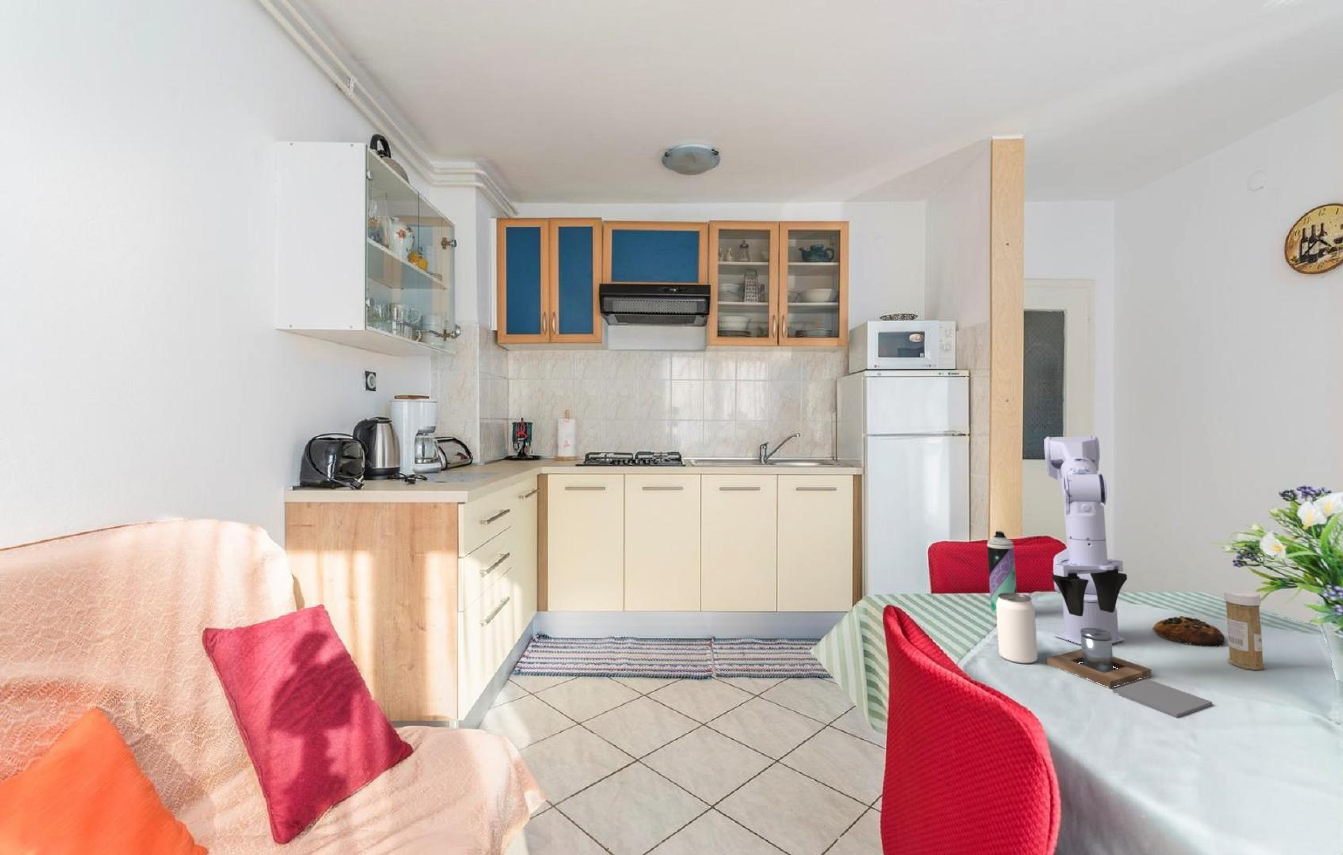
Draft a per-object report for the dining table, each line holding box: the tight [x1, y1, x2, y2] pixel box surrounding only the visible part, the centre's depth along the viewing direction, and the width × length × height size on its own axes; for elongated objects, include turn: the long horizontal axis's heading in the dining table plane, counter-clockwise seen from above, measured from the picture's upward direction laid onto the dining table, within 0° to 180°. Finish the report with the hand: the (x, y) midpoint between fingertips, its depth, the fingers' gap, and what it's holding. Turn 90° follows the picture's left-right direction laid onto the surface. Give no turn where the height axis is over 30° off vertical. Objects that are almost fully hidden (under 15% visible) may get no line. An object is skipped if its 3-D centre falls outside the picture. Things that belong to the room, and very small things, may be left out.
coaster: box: [1112, 678, 1213, 719], centre depth 90 cm, size 9×9×1 cm
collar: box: [1046, 648, 1153, 689], centre depth 101 cm, size 11×11×1 cm
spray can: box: [986, 530, 1017, 618], centre depth 131 cm, size 6×6×20 cm
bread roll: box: [1152, 615, 1226, 648], centre depth 114 cm, size 11×11×5 cm
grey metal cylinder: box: [1080, 628, 1114, 673], centre depth 101 cm, size 4×4×7 cm
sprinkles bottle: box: [1223, 588, 1265, 671], centre depth 100 cm, size 5×5×14 cm
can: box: [996, 592, 1038, 665], centre depth 108 cm, size 6×6×12 cm
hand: (1091, 613), depth 101 cm, fingers open, 7 cm apart
